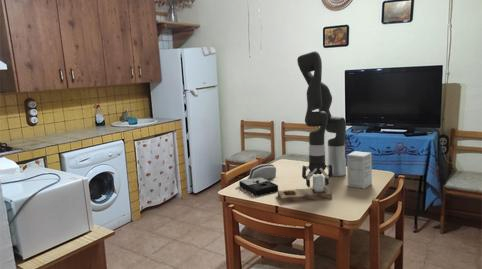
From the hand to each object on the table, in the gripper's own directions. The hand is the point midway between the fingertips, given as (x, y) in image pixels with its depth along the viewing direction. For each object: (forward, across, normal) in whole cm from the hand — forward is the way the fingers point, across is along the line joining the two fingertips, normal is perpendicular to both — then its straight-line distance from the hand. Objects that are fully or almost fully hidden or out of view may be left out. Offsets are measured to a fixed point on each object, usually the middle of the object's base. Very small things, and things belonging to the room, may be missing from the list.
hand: (317, 186), depth 176 cm
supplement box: (+5, -25, -11) cm, 28 cm away
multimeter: (+6, +27, -18) cm, 33 cm away
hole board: (+5, +7, 0) cm, 8 cm away
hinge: (+5, +22, -34) cm, 41 cm away
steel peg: (+5, 0, 0) cm, 5 cm away
